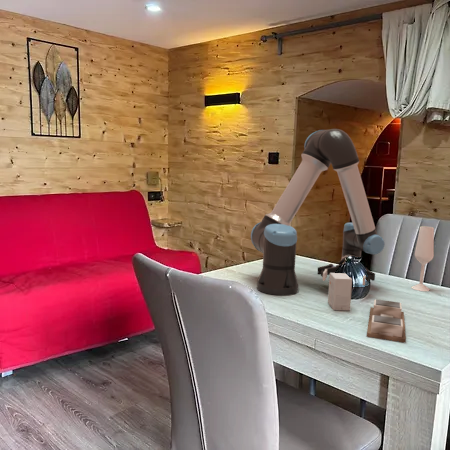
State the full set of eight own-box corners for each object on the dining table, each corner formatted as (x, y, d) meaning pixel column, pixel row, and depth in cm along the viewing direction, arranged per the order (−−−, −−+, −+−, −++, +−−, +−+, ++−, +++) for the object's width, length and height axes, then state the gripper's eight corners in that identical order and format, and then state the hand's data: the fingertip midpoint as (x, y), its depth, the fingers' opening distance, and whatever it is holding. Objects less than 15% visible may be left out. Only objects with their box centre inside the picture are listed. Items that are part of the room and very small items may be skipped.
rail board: (366, 336, 124) (367, 321, 123) (370, 310, 146) (371, 297, 146) (405, 342, 121) (407, 327, 120) (403, 314, 143) (404, 301, 142)
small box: (350, 311, 145) (352, 279, 143) (332, 310, 145) (335, 278, 143) (343, 303, 153) (346, 272, 151) (327, 302, 153) (329, 272, 151)
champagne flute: (407, 287, 175) (413, 226, 171) (417, 285, 179) (423, 225, 175) (424, 292, 169) (430, 229, 166) (433, 289, 173) (440, 227, 170)
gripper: (381, 278, 173) (380, 294, 153) (316, 271, 181) (307, 285, 162) (383, 259, 172) (382, 272, 152) (317, 253, 180) (308, 264, 160)
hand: (343, 279), depth 157 cm, fingers open, 13 cm apart
